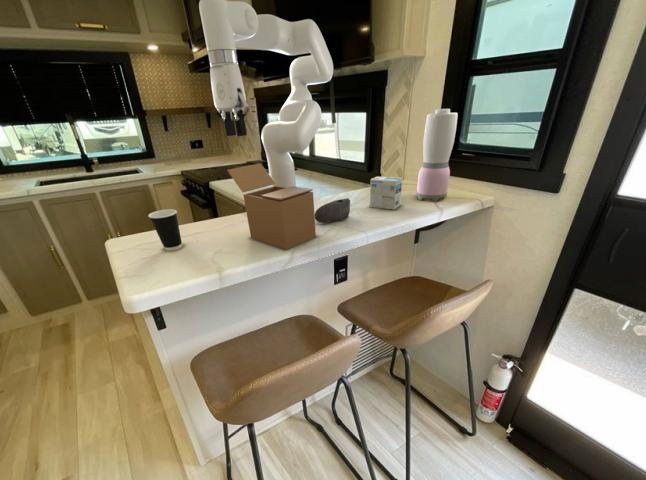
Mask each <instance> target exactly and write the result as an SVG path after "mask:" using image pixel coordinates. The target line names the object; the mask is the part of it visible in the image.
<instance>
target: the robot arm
mask: <svg viewBox="0 0 646 480" xmlns="http://www.w3.org/2000/svg"><path fill="white" fill-rule="evenodd" d="M198 9H199V15H200V20H201V24H202V25H201V26H202V30H203V35H204V40H205V45H206V51H207V56H208V61H209V66H210V68H209V72H210V73H209V75H210V85H211V86H210V87H211V92H212V99H213V105H214V107H215V109H216V110H217V112H218V113H219V115H220V116H221V120H222V121H223V125H224V131H225V135H226V137H233V136H237V137H243V136H247V135H248V133H247V126H246V119H247V118H246V115H247V111H248V109H249V103H248V102H247V97H246V91H245V87H244V82H243V76H242V73H241V69H240V66H239V61H238V54H237V48H242V49H252V50H259V51H260V50H261V51H269V52H270V51H271V52H275V53H279V54H282V55H286V56H298V55H303V56H298V57H297V58H295V59H294V60H293V61H292V62H291V64H290V66H289V79H290V80H289V81H290V87H291V92H290V94H289V96H288V97H287V99H286V101H285V102H284V104H283V105H282V106H281V108H280V110H279V112H278V117H277V120H278V121H271V122H268V123H266V124H265V125H264V126H263V128H262V130H261V142H262V145H263V149H264V151H265V155H266V160H267V166H268V174H269V175H270V177H271V178H272V180H273V181H274V183H275V184H273V185H270V187H273V186H279V187H285V188H288V187H292V186H295V187H297V184H296V173H295V163H294V159H293V158H292V156H291V154H290V153H303V152H304V151H305V150H307V149H308V147H309V146H310V144H311V143H312V141H313V139H314V138H315V135H316V134H317V132H318V131H319V128H320V127H321V124H322V123H321V122H322V109H321V107H320V105H319V103H318V102H317V101H316V100H313V98H312V94H311V92H310V91H309V89H308V86H309V85H318V84H325V83H328V82H330V81H331V79H333V75H334V63H333V59H332V56H331V54H330V51H329V49H328V46H327V44H326V40H325V39H324V36H323V35H322V34H323V33H322V32H321V30H320V28H319V25H317V23H316V21H314V20H313V19H312V18H311V19H310V18H306V19H302V20H298V21H288V20H286V19H283V18H280V17H279V16H276V15H273V14H269V13H264V14H263V13H261V14H257V12H256V10H255V9H254V8H253V6H251V4H249V3H247V2H245V1H237V0H236V1H233V0H199V3H198ZM304 54H309V55H304ZM232 113H233V114H232ZM233 115H234V117H235V120H233Z"/></svg>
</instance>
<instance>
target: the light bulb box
mask: <svg viewBox="0 0 646 480" xmlns="http://www.w3.org/2000/svg"><path fill="white" fill-rule="evenodd" d="M369 187H370V189H369V190H370V192H369V208H376V209H384V210H396V209H397V208H399V207H400V206H401V203H402V202H401V201H402V190H403V189H402V188H403V177H393V176H375V177H372V178H371V179H370V186H369Z"/></svg>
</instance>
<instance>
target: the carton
mask: <svg viewBox="0 0 646 480" xmlns="http://www.w3.org/2000/svg"><path fill="white" fill-rule="evenodd" d="M313 191H314V190H313V188H308V187H301V186H296V187H295V186H292V187H288V188H285V187H279V186H273V187H271V186H270V187H269V186H268V187H267V188H266V187H265V188H261V189H257V190H255V191H251V192H247V193H244V194H243V195H242V196H243V201H244V206H245V212H246V218H247V222H248V229H249V234H250V238H251V239H253V240H256V241H258V242H261V243H265V244H268V245H271V246H273V247H277V248H280V249H282V250H286V251H287V250H290V249H292V248H294V247H296V246H298V245H300V244H303V243H305V242H307V241H310V240H311V239H314V238H316V236H317V233H316V231H317V230H316V219H315V203H314V202H315V201H314V192H313Z"/></svg>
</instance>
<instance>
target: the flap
mask: <svg viewBox="0 0 646 480" xmlns="http://www.w3.org/2000/svg"><path fill="white" fill-rule="evenodd" d="M227 172H228V174H229V175H230V177H231V178H232V180H233V181H234V182H235V184H236V185H237V187H238V188H239V189H240V191H241V193H246V192H247V193H248V192H250V191H253V190H259V189H263V188H266V187H269V186H270V187H271V185H273V184H275V183H274V181H273V180H272V178H271V177H270V174H269V172H268V171H267V170H266V168H265V166H264V165H263V164H262V163H255V164H250V165H244V166H240V167H235V168H230V169H227Z"/></svg>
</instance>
